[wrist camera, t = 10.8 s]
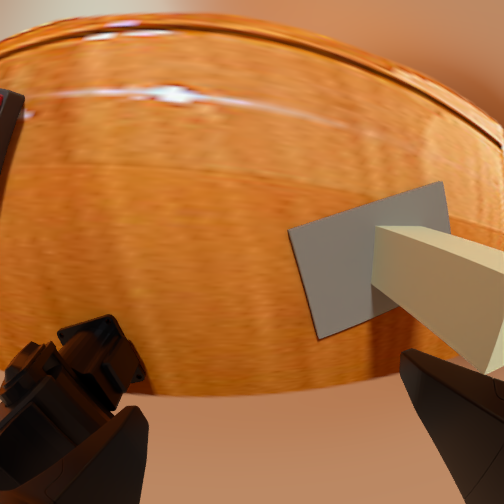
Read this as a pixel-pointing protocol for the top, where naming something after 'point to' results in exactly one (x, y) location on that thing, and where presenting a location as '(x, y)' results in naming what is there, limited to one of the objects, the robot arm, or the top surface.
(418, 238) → the block
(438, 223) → the mat
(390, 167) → the top surface
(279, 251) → the top surface
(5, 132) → the black red white box
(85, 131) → the top surface
